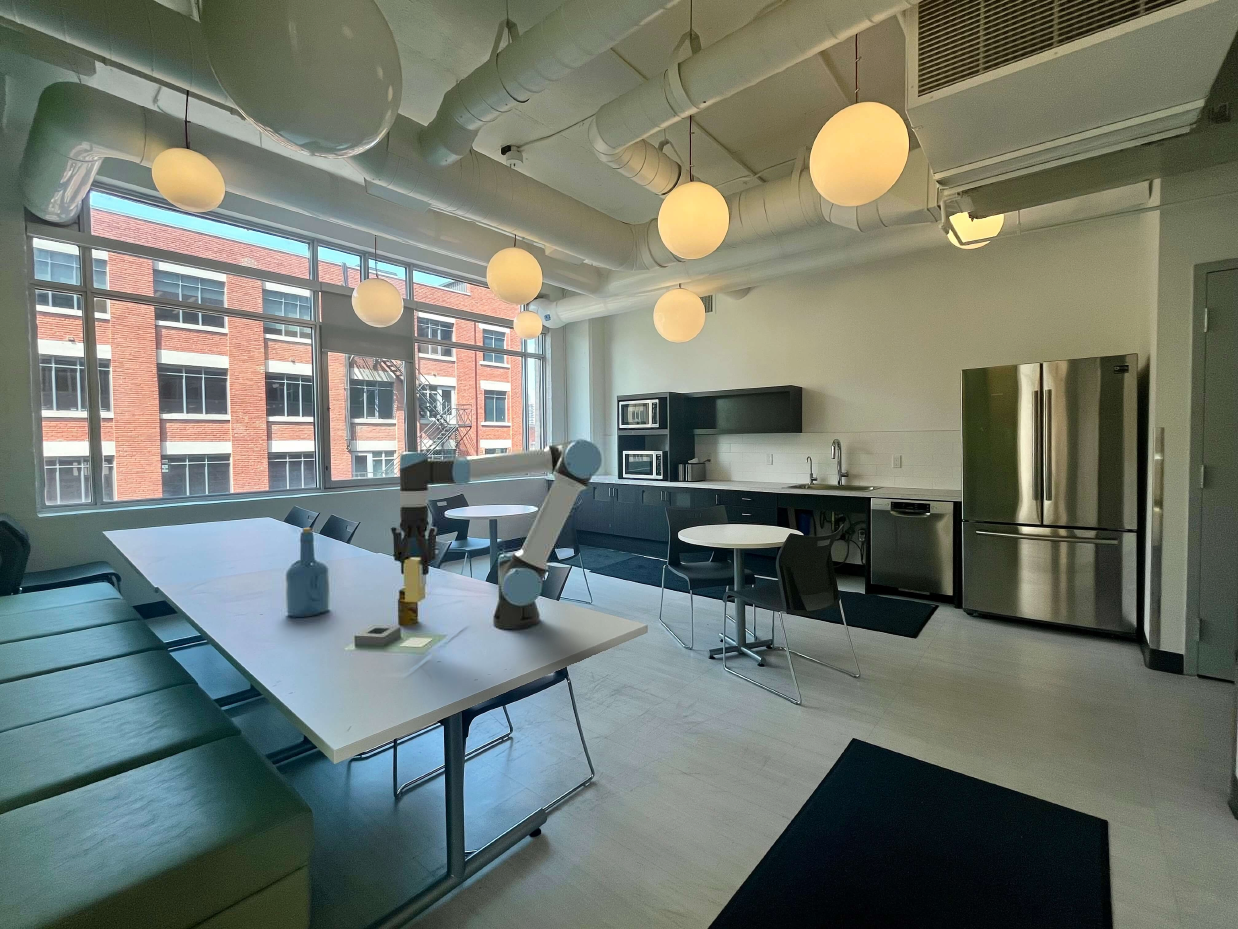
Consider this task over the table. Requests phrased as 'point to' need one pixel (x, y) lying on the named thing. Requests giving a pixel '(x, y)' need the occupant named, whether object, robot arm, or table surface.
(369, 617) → the table surface
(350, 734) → the table surface
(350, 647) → the green board with socket
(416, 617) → the condiment
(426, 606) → the table surface
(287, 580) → the wine bottle
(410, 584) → the plug
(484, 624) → the table surface
